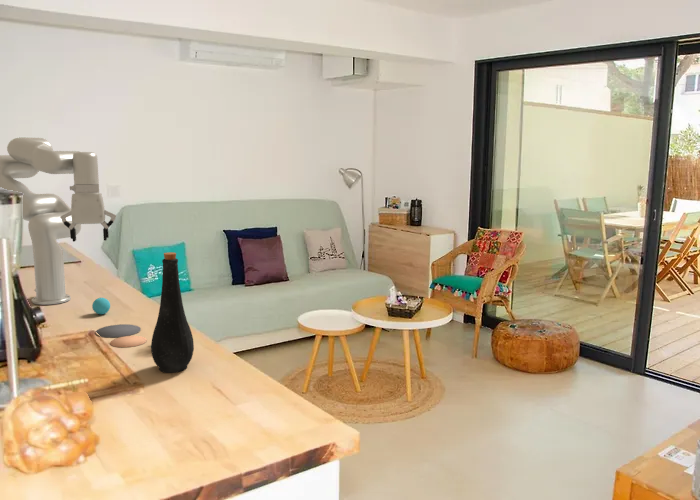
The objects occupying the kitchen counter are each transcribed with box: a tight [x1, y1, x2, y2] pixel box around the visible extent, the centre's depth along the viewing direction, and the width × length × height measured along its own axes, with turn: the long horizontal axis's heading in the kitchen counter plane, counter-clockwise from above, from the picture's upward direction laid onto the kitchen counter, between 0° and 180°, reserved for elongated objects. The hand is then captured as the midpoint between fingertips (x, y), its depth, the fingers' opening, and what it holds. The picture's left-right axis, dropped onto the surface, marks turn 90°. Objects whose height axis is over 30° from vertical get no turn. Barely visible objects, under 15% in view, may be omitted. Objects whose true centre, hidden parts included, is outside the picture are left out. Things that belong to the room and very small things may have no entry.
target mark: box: [95, 323, 142, 339], centre depth 187 cm, size 13×13×1 cm
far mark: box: [109, 335, 148, 348], centre depth 177 cm, size 10×10×1 cm
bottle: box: [150, 251, 195, 374], centre depth 155 cm, size 11×11×30 cm
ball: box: [91, 297, 111, 315], centre depth 204 cm, size 6×6×6 cm
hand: (90, 240), depth 205 cm, fingers open, 9 cm apart
